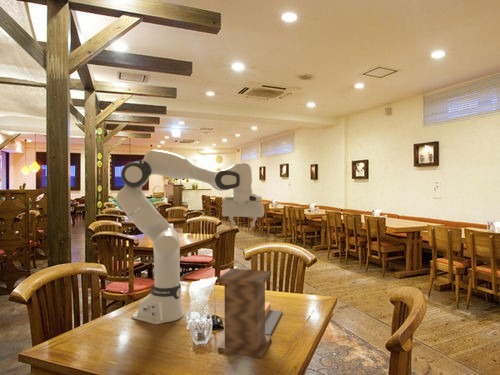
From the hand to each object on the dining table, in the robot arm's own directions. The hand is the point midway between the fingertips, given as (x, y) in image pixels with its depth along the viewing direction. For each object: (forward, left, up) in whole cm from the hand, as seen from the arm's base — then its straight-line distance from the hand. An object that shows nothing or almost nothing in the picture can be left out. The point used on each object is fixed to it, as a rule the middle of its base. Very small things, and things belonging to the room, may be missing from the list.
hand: (242, 226), depth 156 cm
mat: (+12, -13, -39) cm, 43 cm away
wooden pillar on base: (+12, -34, -39) cm, 53 cm away
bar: (+12, -11, -38) cm, 41 cm away
